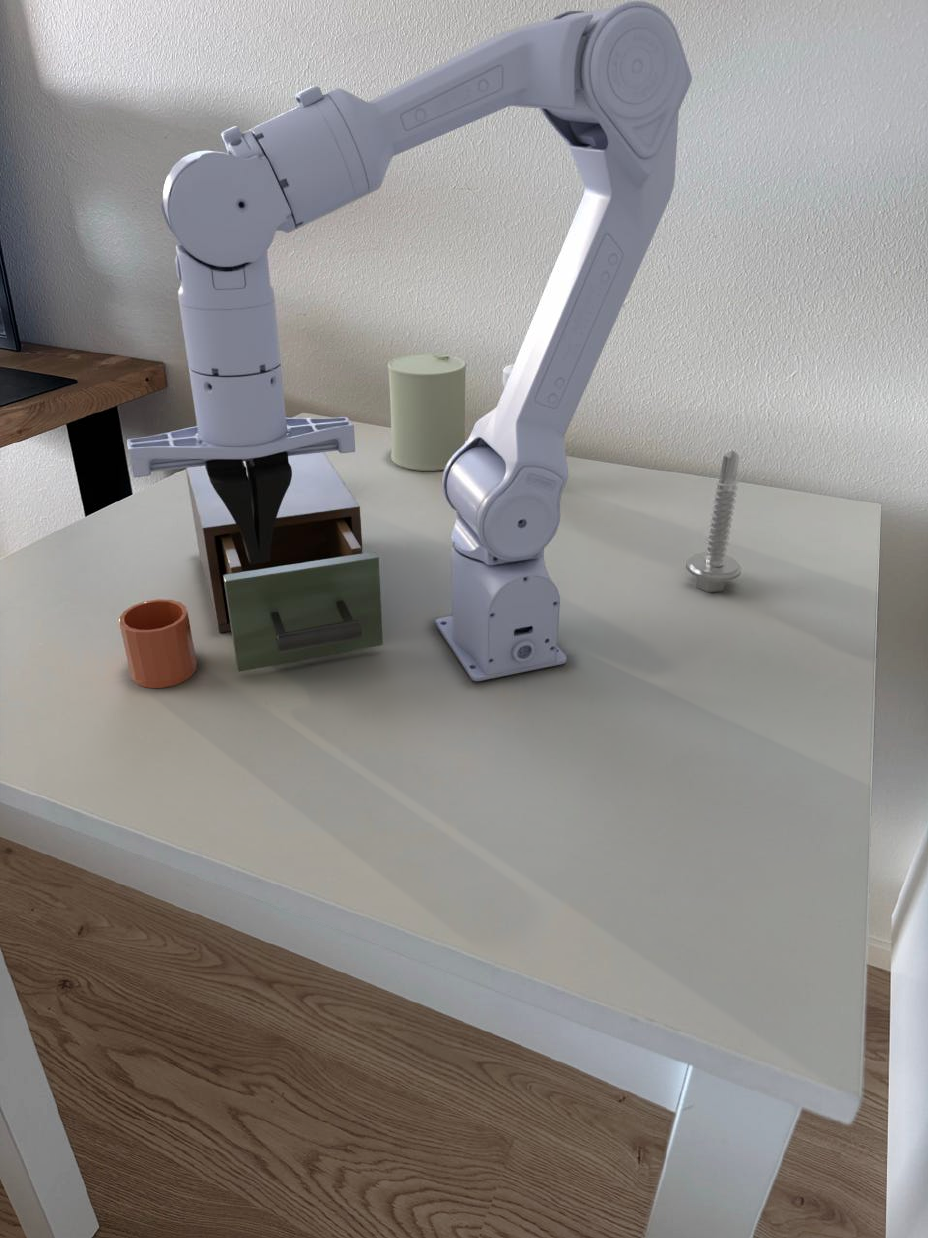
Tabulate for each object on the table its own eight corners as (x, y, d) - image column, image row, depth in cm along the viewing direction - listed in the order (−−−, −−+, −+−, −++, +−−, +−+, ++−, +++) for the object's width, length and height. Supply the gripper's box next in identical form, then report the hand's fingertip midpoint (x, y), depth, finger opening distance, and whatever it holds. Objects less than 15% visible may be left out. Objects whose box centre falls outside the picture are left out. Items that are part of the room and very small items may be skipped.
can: (479, 453, 112) (481, 355, 106) (440, 476, 106) (439, 374, 99) (417, 439, 116) (415, 345, 110) (376, 462, 110) (371, 362, 103)
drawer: (400, 676, 68) (396, 585, 64) (247, 706, 65) (234, 612, 61) (343, 571, 83) (337, 492, 79) (216, 591, 80) (204, 509, 76)
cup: (200, 681, 69) (190, 625, 67) (133, 693, 68) (120, 637, 65) (193, 648, 73) (184, 594, 71) (130, 660, 72) (118, 605, 69)
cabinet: (366, 607, 79) (360, 506, 74) (219, 633, 75) (202, 528, 70) (328, 539, 91) (321, 448, 86) (200, 558, 87) (185, 464, 82)
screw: (740, 578, 84) (734, 602, 80) (688, 570, 85) (679, 593, 82) (764, 444, 77) (759, 463, 73) (707, 437, 79) (698, 455, 75)
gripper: (332, 341, 63) (344, 521, 70) (112, 358, 58) (147, 548, 65) (358, 367, 57) (368, 560, 64) (116, 388, 53) (154, 592, 60)
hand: (257, 557), depth 64 cm, fingers closed
